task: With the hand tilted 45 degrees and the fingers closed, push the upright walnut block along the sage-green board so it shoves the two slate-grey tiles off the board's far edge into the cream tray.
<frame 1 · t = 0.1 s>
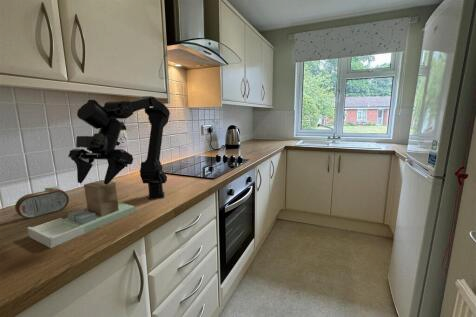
hand: (92, 183, 69), 15 cm above the countertop, tool tilted 35°, fingers open, 9 cm apart
cream tray: (58, 234, 70), on the countertop
slate tile B: (78, 218, 77), point 2 cm above the countertop, touching sage board
sage board: (101, 218, 81), on the countertop
tin: (46, 214, 86), on the countertop
slate tile A: (86, 220, 75), point 2 cm above the countertop, touching sage board
walnut push block: (103, 211, 82), point 2 cm above the countertop, touching sage board
pill bottle: (55, 207, 93), on the countertop
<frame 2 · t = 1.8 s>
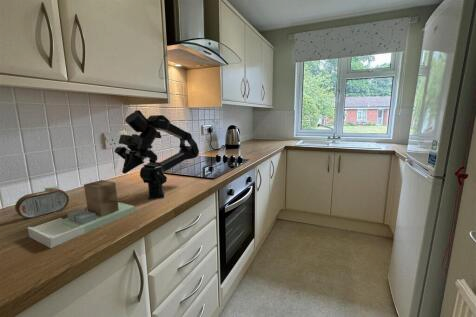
hand: (123, 173, 87), 14 cm above the countertop, tool tilted 45°, fingers closed
nothing on the countertop moved.
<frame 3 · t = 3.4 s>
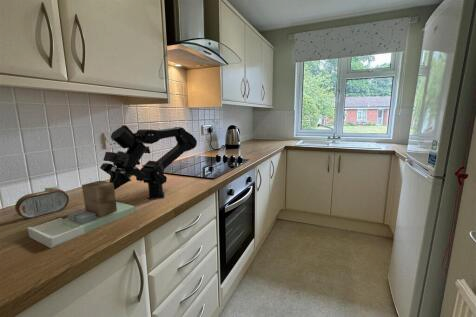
hand: (108, 192, 83), 8 cm above the countertop, tool tilted 45°, fingers closed, pressing on walnut push block
walnut push block: (101, 212, 81), point 2 cm above the countertop, touching gripper, sage board
everything else where it was.
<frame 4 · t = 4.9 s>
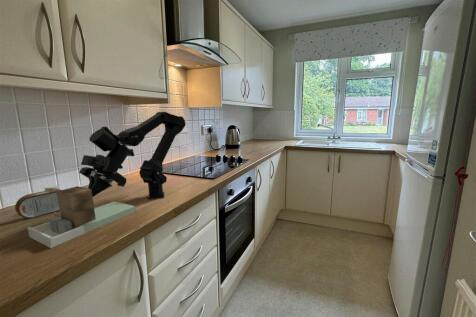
hand: (86, 198, 77), 8 cm above the countertop, tool tilted 45°, fingers closed
slate tile B: (60, 223, 73), point 2 cm above the countertop, tilted 91°, touching cream tray
slate tile A: (68, 226, 70), point 2 cm above the countertop, tilted 91°, touching cream tray
walnut push block: (78, 220, 75), point 2 cm above the countertop, touching gripper, sage board
everything else where it was.
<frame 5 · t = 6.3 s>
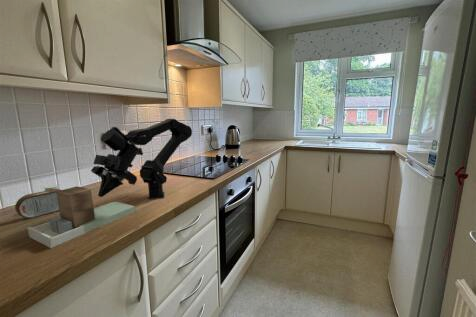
hand: (99, 196, 80), 8 cm above the countertop, tool tilted 45°, fingers closed
walnut push block: (78, 220, 75), point 2 cm above the countertop, touching sage board
everything else where it was.
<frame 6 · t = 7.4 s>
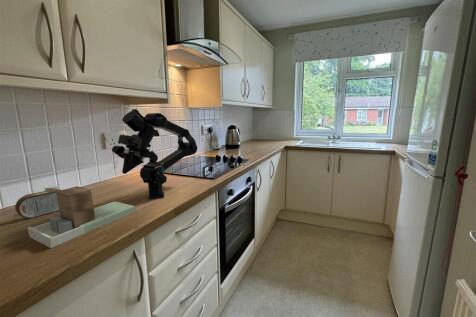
hand: (123, 173, 87), 14 cm above the countertop, tool tilted 40°, fingers closed
nothing on the countertop moved.
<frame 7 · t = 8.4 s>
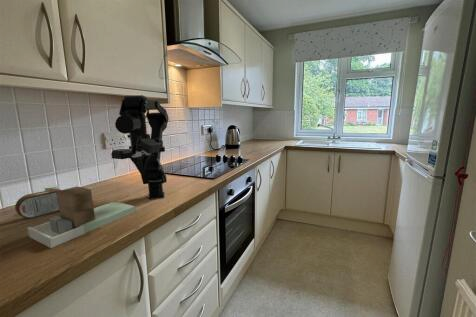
hand: (142, 174, 87), 13 cm above the countertop, tool pointing down, fingers closed
nothing on the countertop moved.
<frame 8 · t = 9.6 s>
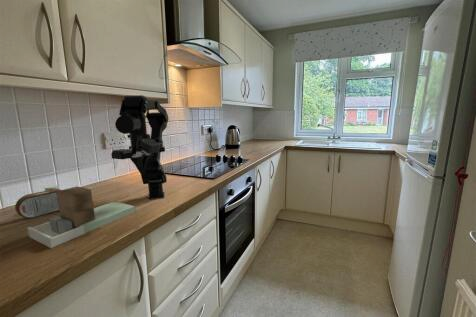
hand: (142, 174, 87), 13 cm above the countertop, tool pointing down, fingers closed
nothing on the countertop moved.
at the end: slate tile A inside the target area on the cream tray (3.2 cm from its centre), point 2.3 cm above the cream tray's base; slate tile B inside the target area on the cream tray (3.1 cm from its centre), point 2.3 cm above the cream tray's base; slate tile A touching cream tray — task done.
